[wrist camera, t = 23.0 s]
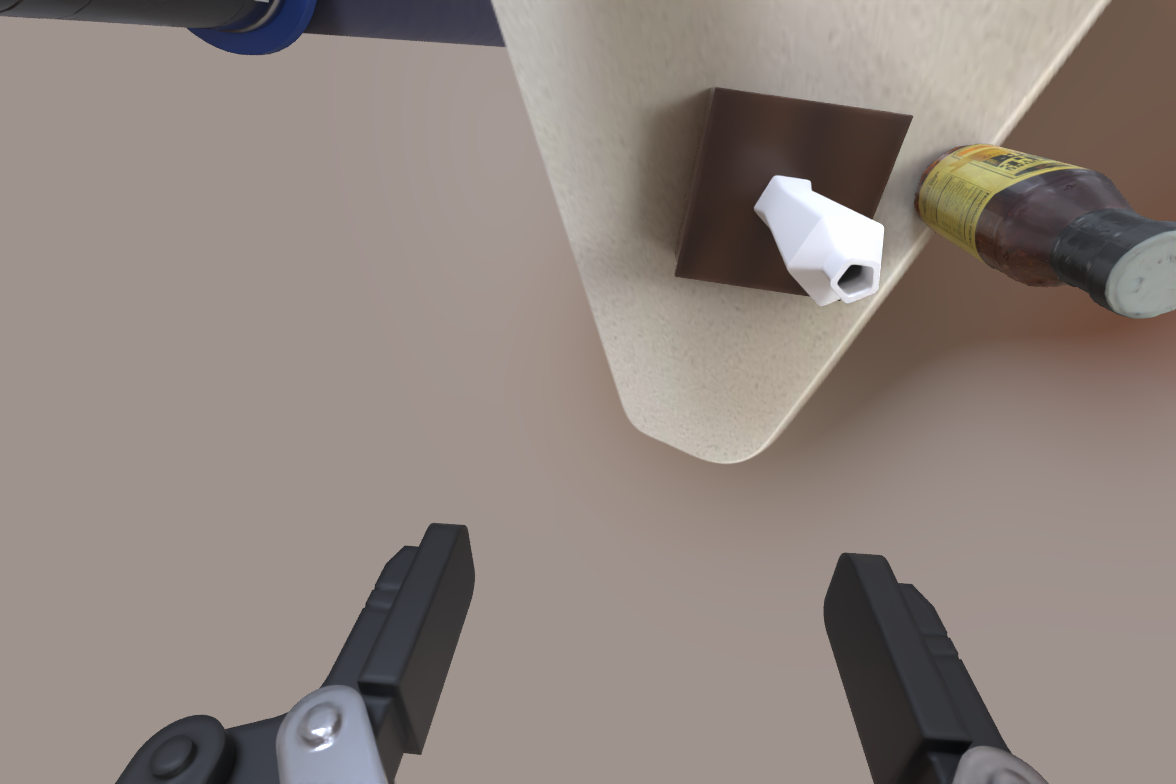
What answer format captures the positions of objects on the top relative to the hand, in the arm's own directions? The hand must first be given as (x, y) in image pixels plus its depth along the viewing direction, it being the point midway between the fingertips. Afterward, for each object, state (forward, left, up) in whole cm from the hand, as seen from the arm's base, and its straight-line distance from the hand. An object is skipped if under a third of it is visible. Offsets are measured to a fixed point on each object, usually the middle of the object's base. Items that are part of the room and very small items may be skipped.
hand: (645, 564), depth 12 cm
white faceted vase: (+9, +2, -31) cm, 33 cm away
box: (+9, +2, -36) cm, 37 cm away
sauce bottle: (+22, +4, -36) cm, 43 cm away
